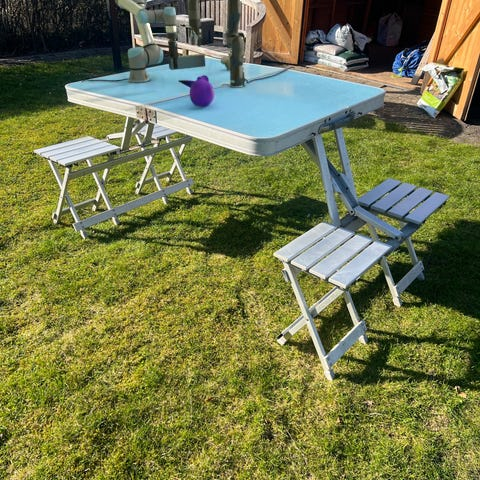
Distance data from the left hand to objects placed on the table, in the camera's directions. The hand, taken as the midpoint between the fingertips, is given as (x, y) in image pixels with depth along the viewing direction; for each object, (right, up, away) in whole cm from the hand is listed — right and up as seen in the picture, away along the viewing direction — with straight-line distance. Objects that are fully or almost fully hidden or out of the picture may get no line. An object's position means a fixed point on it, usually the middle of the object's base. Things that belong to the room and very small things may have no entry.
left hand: (174, 67), depth 321 cm
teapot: (+41, +19, +53) cm, 70 cm away
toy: (+22, -41, -48) cm, 67 cm away
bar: (+9, +2, +4) cm, 10 cm away
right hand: (+19, +2, -31) cm, 36 cm away
